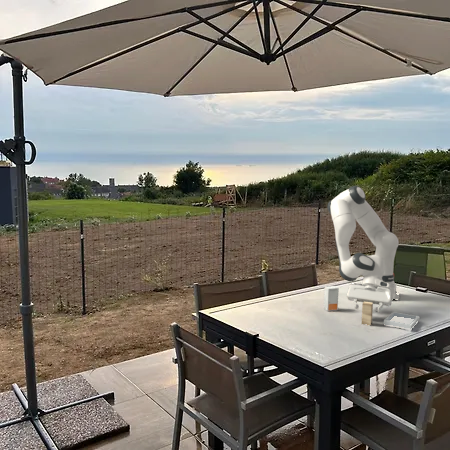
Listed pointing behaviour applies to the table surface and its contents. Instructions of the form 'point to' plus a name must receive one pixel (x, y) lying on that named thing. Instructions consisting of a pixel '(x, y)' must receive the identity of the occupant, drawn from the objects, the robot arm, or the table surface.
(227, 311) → the table surface
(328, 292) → the skincare box
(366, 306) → the birch block
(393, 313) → the tray
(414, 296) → the table surface
